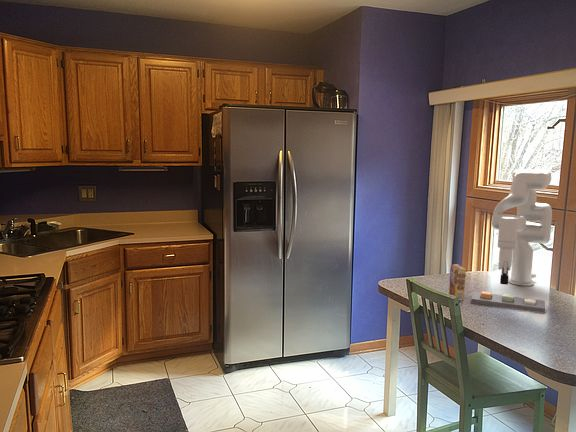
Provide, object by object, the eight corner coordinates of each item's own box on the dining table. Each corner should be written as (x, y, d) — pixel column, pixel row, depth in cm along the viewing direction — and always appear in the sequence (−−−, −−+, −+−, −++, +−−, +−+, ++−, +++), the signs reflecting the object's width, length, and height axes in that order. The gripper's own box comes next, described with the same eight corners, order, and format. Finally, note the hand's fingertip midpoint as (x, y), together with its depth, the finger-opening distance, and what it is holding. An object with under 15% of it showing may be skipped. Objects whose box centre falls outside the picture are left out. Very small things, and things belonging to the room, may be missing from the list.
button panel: (473, 295, 229) (473, 291, 229) (544, 304, 216) (544, 300, 216) (470, 302, 218) (471, 298, 218) (545, 313, 205) (545, 308, 205)
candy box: (464, 300, 221) (466, 268, 219) (455, 300, 221) (457, 268, 219) (457, 294, 230) (458, 264, 228) (448, 295, 230) (450, 264, 228)
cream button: (524, 303, 216) (524, 298, 216) (535, 304, 214) (535, 299, 214) (524, 305, 212) (524, 301, 212) (535, 307, 210) (535, 302, 210)
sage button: (502, 298, 220) (502, 293, 219) (513, 299, 218) (513, 294, 218) (502, 300, 216) (502, 296, 216) (512, 302, 214) (513, 297, 214)
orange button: (481, 295, 224) (481, 290, 223) (491, 296, 222) (492, 292, 221) (480, 297, 220) (481, 293, 220) (491, 299, 218) (491, 294, 218)
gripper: (498, 240, 222) (495, 278, 225) (497, 246, 209) (494, 287, 211) (515, 242, 219) (512, 280, 222) (516, 248, 206) (513, 289, 208)
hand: (504, 283), depth 217 cm, fingers closed
